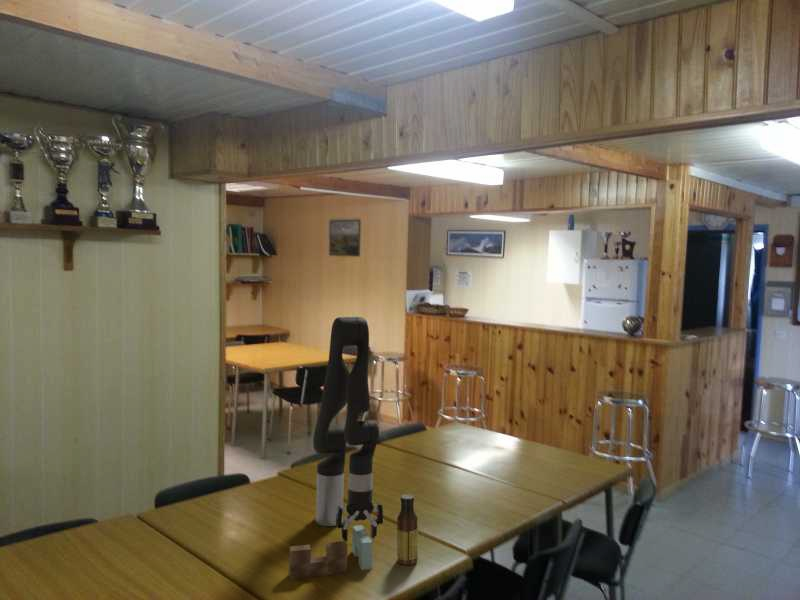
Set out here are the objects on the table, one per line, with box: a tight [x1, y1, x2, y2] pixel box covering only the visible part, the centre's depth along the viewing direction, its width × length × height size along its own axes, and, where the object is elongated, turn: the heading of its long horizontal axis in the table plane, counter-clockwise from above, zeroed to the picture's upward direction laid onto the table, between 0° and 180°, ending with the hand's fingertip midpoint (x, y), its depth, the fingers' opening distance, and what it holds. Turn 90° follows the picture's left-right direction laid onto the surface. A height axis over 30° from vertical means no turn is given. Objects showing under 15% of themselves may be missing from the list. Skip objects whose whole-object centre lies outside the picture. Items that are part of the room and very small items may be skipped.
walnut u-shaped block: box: [288, 540, 348, 580], centre depth 172 cm, size 16×3×8 cm, turn 108°
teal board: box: [351, 525, 373, 571], centre depth 181 cm, size 12×3×8 cm, turn 18°
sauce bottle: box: [396, 493, 419, 566], centre depth 181 cm, size 7×6×20 cm
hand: (359, 539), depth 185 cm, fingers open, 8 cm apart
